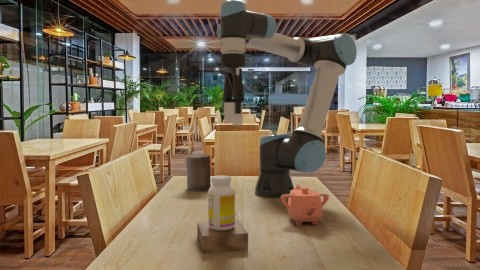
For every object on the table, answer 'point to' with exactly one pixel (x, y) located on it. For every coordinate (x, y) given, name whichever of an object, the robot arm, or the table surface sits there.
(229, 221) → the supplement bottle
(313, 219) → the teapot
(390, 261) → the table surface
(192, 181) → the pillar candle
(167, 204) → the table surface
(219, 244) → the block
